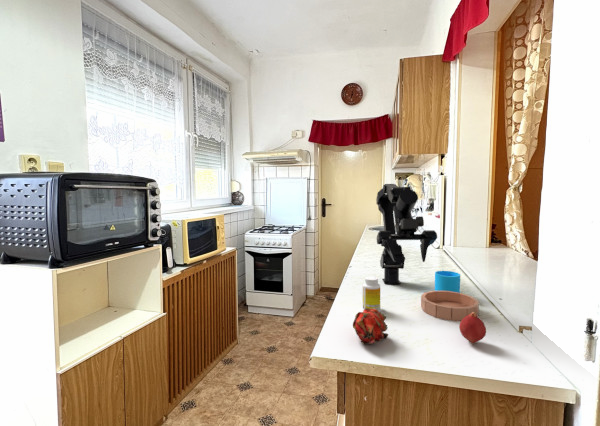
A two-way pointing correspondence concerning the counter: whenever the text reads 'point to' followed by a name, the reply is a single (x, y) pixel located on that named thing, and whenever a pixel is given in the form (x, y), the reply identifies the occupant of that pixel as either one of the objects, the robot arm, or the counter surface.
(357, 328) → the dragon fruit
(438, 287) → the mug
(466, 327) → the onion
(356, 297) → the counter surface
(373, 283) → the supplement bottle
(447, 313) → the bowl
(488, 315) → the counter surface
